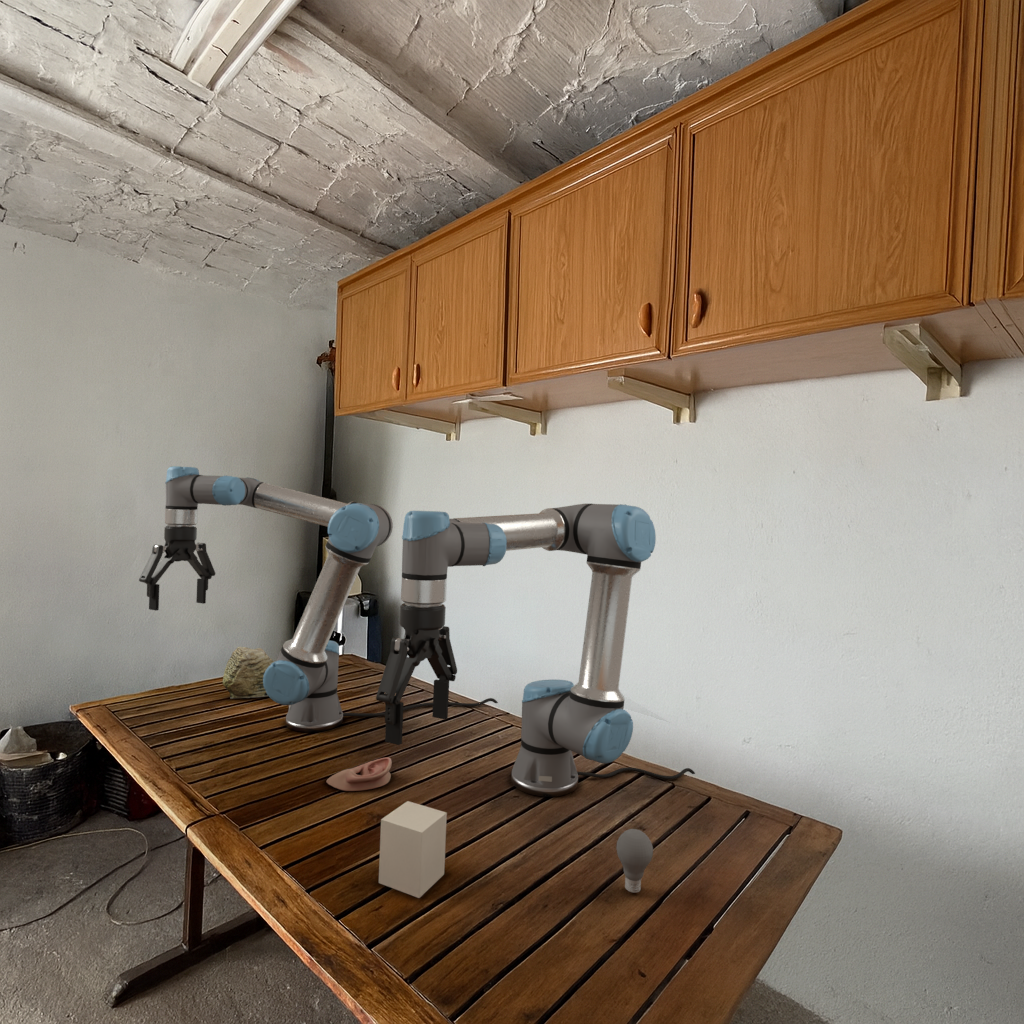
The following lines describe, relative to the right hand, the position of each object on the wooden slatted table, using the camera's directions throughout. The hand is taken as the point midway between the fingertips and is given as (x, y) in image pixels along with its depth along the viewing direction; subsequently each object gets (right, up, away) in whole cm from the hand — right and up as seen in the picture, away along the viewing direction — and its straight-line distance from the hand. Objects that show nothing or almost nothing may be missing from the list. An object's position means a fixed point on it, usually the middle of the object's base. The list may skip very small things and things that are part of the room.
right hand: (418, 729), depth 106 cm
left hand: (-72, +12, +60) cm, 95 cm away
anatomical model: (-18, -24, +36) cm, 47 cm away
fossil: (-65, -21, +92) cm, 114 cm away
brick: (-1, -25, +1) cm, 25 cm away
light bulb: (+36, -27, 0) cm, 45 cm away
